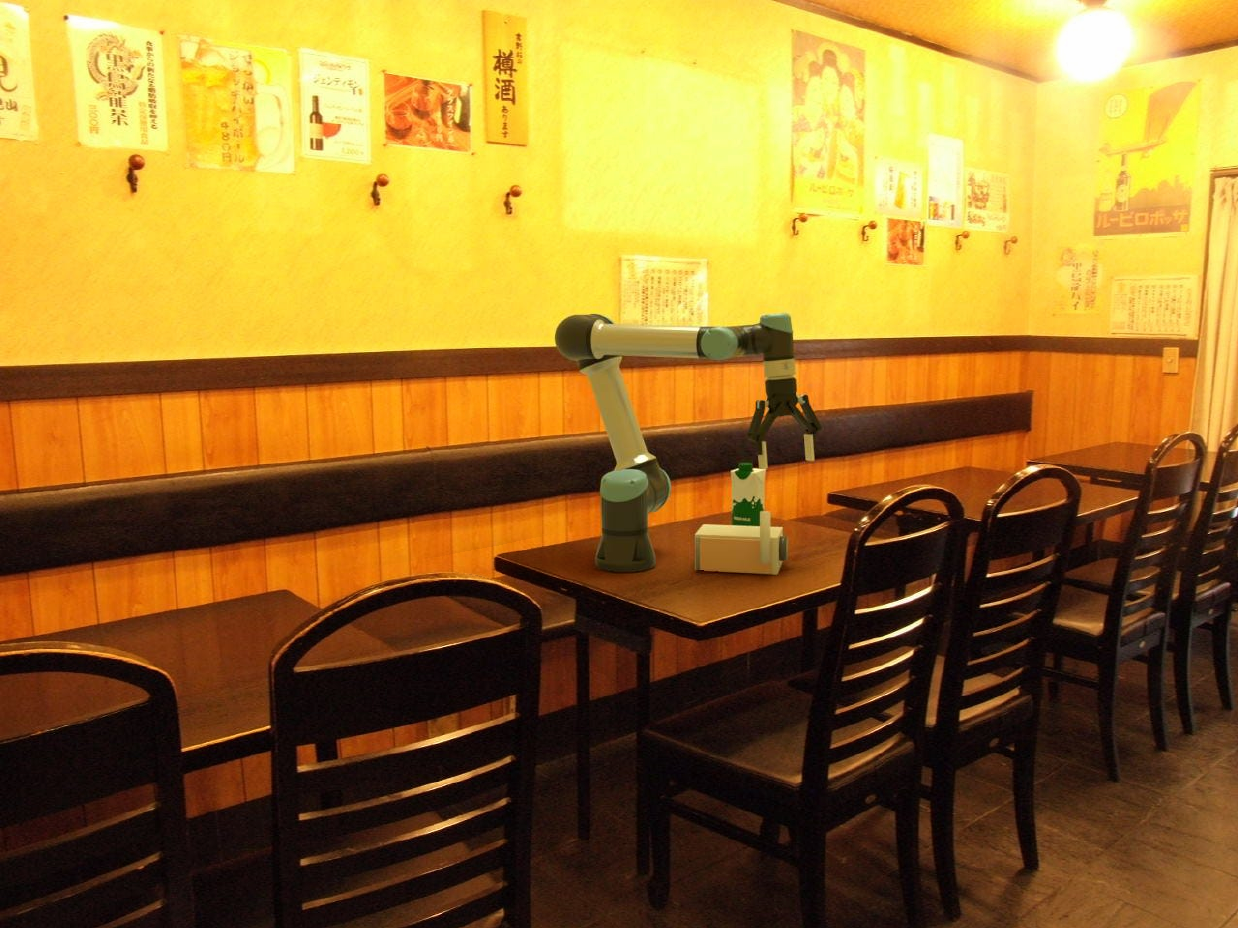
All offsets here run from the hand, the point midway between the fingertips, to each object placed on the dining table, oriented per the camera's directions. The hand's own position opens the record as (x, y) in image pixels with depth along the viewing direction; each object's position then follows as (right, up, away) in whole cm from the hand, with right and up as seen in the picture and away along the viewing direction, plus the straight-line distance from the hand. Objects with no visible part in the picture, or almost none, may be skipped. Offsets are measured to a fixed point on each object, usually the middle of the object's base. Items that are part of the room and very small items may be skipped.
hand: (787, 464), depth 240 cm
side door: (-14, -26, -6) cm, 30 cm away
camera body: (-11, -25, +3) cm, 28 cm away
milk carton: (-4, -20, +41) cm, 46 cm away
